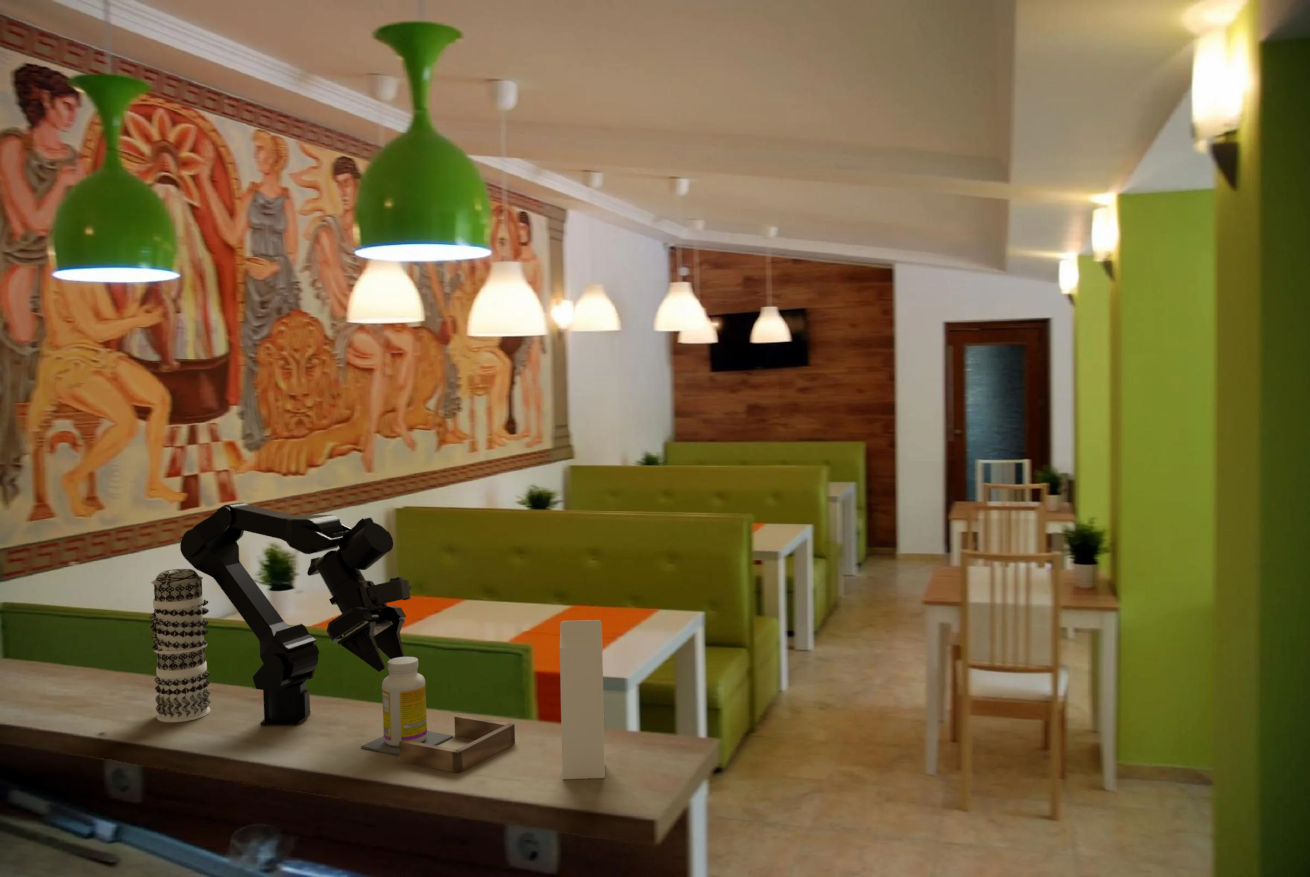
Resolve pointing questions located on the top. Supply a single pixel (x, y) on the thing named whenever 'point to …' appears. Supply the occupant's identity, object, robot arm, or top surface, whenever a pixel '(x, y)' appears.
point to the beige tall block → (582, 699)
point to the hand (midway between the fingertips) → (393, 668)
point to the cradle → (487, 744)
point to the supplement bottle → (404, 702)
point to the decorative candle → (180, 646)
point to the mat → (382, 746)
